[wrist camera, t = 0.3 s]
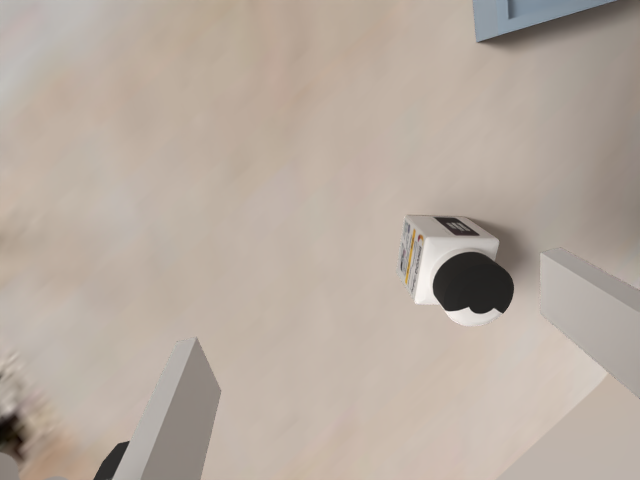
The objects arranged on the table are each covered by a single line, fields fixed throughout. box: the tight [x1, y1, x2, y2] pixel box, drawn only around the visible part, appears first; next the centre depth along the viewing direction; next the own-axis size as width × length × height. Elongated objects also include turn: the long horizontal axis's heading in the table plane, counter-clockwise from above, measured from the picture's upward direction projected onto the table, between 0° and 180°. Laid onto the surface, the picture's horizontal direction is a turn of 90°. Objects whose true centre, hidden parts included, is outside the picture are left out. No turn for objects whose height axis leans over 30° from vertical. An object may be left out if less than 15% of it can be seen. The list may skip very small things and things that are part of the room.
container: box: [396, 215, 514, 326], centre depth 37 cm, size 8×8×13 cm
